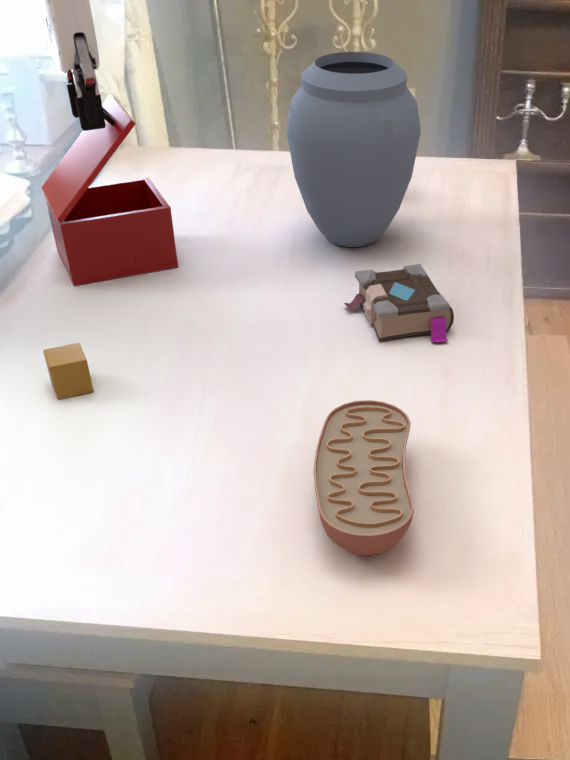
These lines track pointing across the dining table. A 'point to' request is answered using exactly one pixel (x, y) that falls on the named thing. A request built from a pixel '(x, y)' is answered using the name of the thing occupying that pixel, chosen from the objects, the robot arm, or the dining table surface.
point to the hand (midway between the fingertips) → (89, 120)
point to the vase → (353, 144)
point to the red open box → (116, 232)
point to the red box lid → (86, 159)
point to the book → (402, 304)
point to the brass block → (68, 370)
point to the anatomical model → (363, 476)
